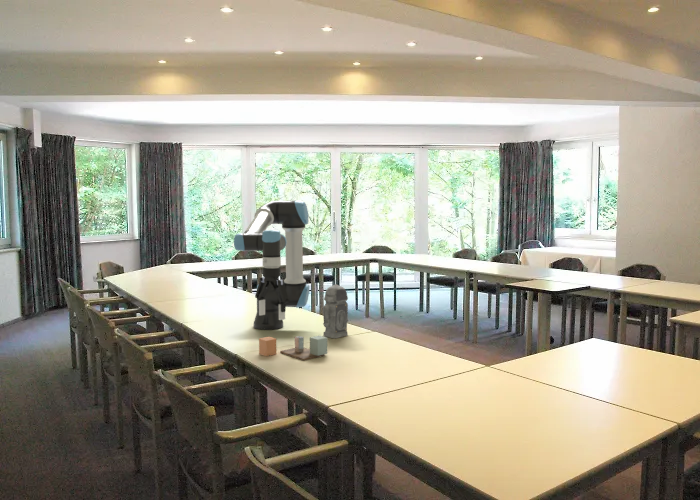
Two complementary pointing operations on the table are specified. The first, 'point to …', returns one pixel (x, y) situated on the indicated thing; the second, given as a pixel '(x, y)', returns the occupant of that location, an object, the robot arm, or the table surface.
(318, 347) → the pale blue-grey block
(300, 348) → the post
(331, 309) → the figurine
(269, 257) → the robot arm
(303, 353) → the stand
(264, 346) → the orange block
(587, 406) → the table surface
